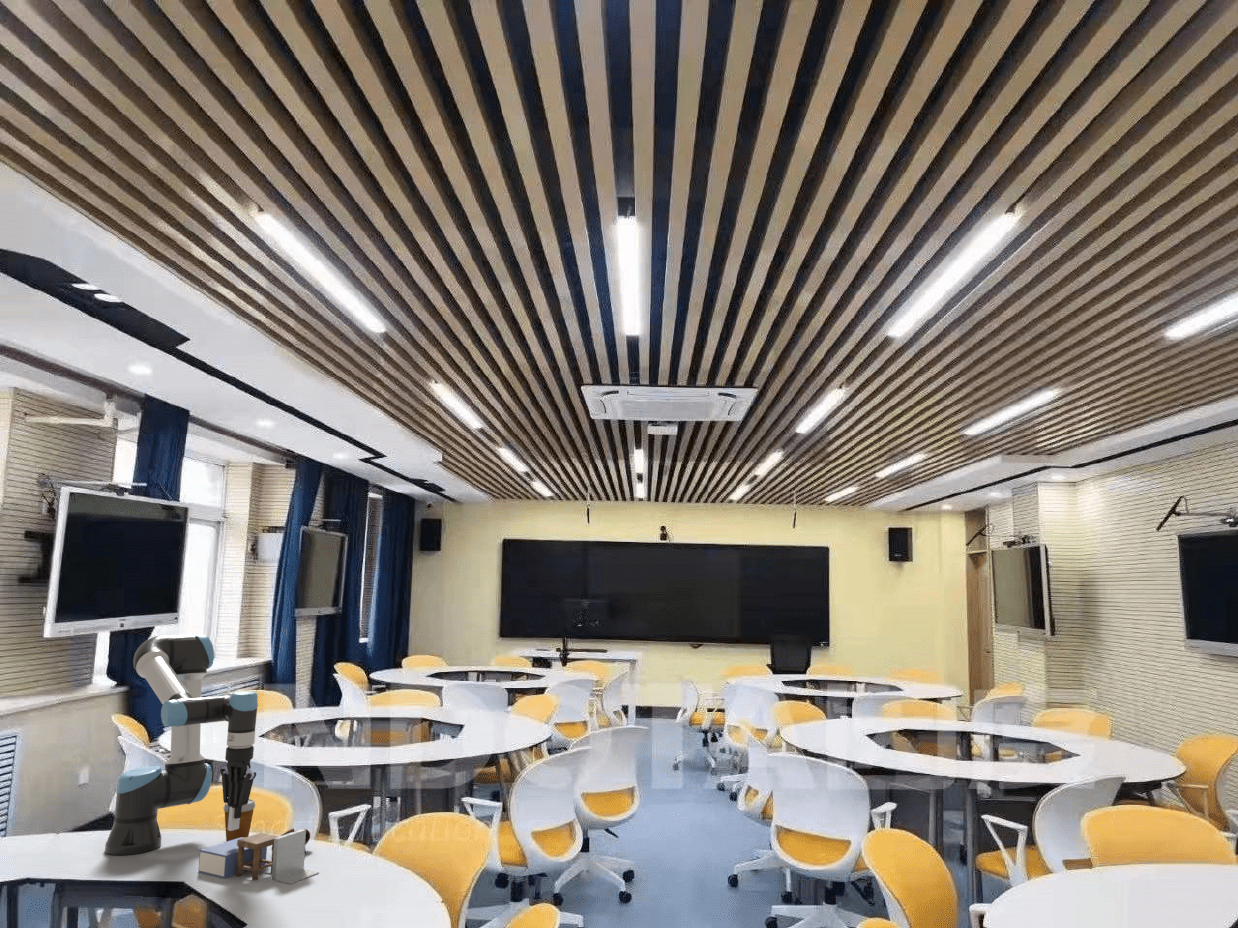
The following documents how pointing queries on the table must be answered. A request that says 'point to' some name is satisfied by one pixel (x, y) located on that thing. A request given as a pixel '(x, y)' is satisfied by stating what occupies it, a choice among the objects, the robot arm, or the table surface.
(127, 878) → the table surface
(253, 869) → the stool
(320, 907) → the table surface
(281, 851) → the bookend
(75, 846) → the table surface
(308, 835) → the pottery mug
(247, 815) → the disposable coffee cup
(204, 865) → the book
